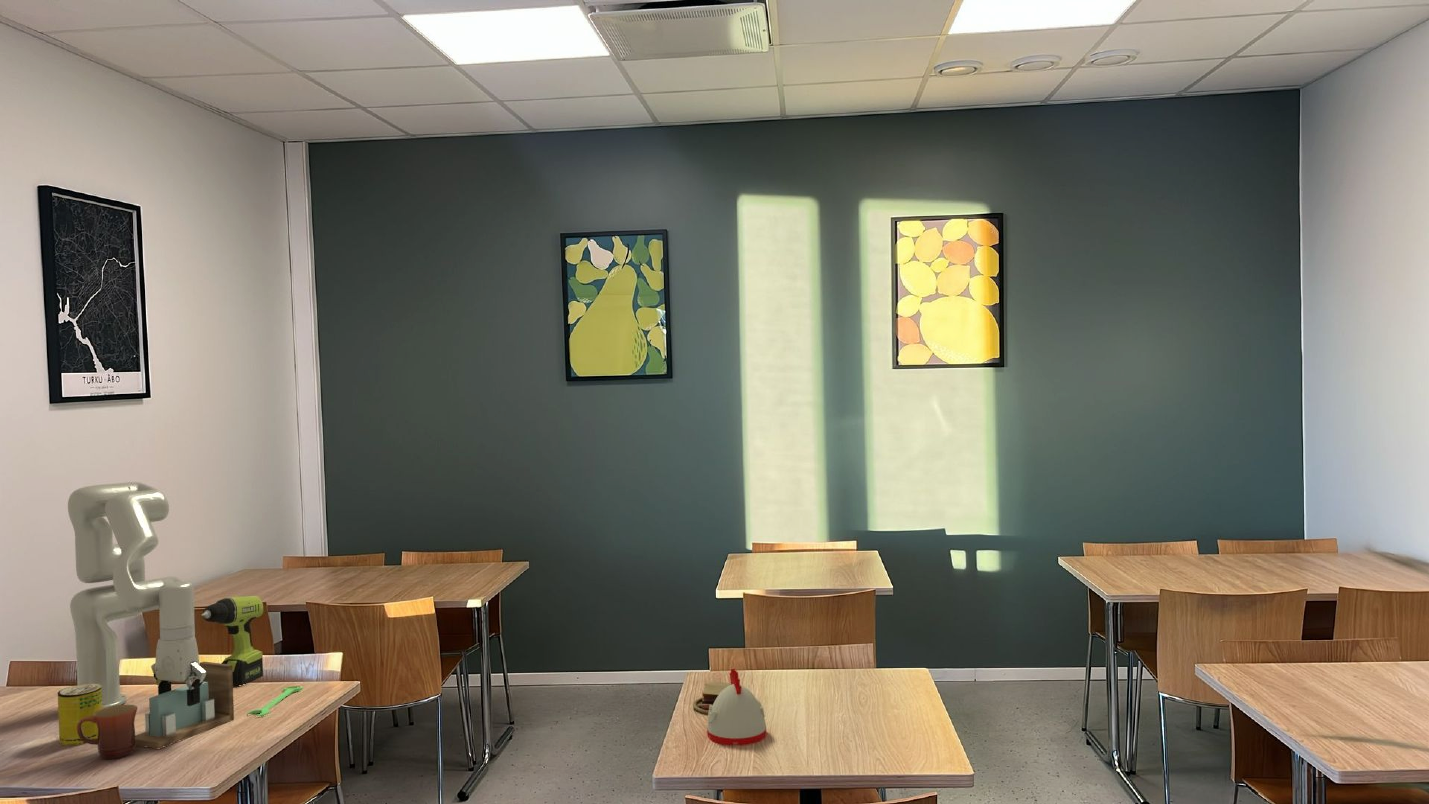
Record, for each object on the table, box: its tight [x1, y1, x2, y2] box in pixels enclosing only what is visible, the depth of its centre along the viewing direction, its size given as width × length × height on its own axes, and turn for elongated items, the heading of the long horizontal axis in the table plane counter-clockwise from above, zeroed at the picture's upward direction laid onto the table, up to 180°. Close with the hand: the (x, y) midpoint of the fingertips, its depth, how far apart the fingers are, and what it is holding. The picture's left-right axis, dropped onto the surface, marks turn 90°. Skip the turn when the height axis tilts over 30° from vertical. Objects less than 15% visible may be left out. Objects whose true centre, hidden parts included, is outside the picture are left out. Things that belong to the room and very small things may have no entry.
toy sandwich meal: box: [692, 681, 731, 715], centre depth 251 cm, size 12×14×5 cm
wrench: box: [246, 685, 304, 717], centre depth 262 cm, size 25×2×5 cm
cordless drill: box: [200, 595, 264, 687], centre depth 278 cm, size 23×7×25 cm, turn 170°
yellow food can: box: [57, 684, 102, 746], centre depth 238 cm, size 9×9×12 cm
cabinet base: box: [135, 661, 235, 749], centre depth 241 cm, size 21×10×14 cm, turn 158°
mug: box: [77, 704, 138, 760], centre depth 226 cm, size 12×9×10 cm
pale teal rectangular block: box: [148, 682, 209, 737], centre depth 240 cm, size 14×3×9 cm, turn 158°
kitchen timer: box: [706, 668, 767, 746], centre depth 231 cm, size 14×14×15 cm
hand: (179, 702), depth 241 cm, fingers open, 9 cm apart
